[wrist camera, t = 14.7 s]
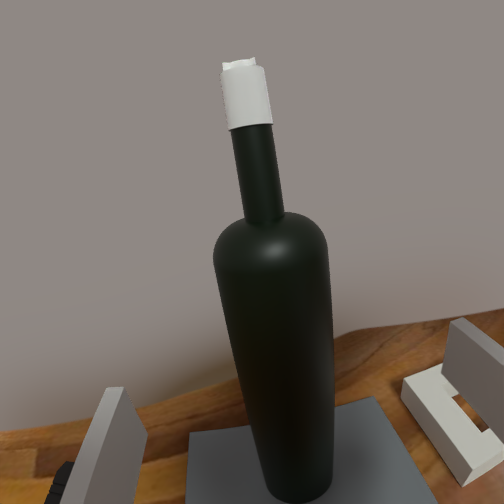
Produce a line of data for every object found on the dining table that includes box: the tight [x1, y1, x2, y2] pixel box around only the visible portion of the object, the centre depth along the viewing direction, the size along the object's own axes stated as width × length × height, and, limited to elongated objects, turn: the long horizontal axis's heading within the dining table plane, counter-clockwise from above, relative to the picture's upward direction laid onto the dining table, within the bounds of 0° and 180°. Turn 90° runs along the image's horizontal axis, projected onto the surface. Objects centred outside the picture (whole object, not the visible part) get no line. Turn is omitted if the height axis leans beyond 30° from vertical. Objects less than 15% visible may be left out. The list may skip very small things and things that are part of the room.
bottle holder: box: [400, 363, 504, 487], centre depth 22 cm, size 14×14×3 cm
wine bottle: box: [213, 57, 335, 504], centre depth 17 cm, size 6×6×30 cm
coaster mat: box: [185, 396, 438, 504], centre depth 22 cm, size 20×16×1 cm
